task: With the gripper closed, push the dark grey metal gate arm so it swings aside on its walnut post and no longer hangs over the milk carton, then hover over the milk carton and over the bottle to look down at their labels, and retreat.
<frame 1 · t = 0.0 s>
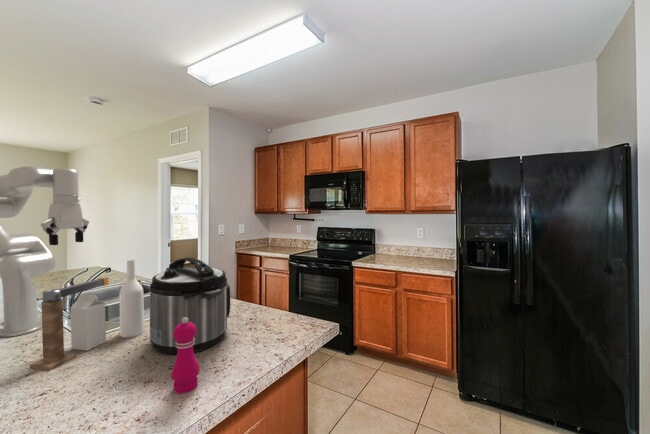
hand: (67, 243, 116), 37 cm above the worktop, tool pointing down, fingers open, 9 cm apart
pepper mill: (185, 387, 83), on the worktop
bottle: (132, 333, 119), on the worktop
pressure cooker: (192, 339, 114), on the worktop
gate arm: (78, 288, 104), point 22 cm above the worktop, hinge at 0.0°
milk carton: (89, 346, 108), on the worktop
gate post: (53, 362, 96), on the worktop
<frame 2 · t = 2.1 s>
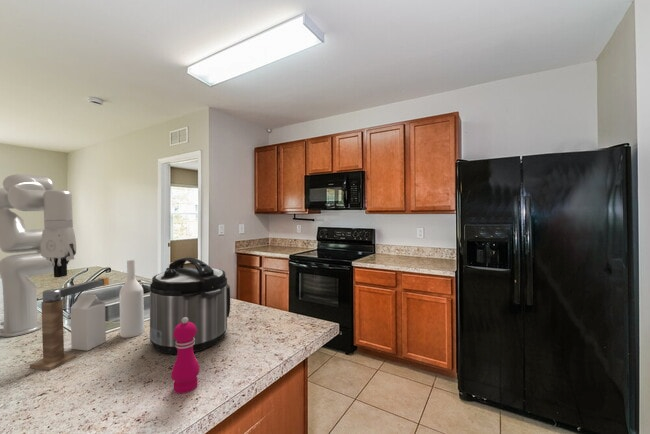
hand: (60, 276, 104), 26 cm above the worktop, tool pointing down, fingers closed
nothing on the worktop moved.
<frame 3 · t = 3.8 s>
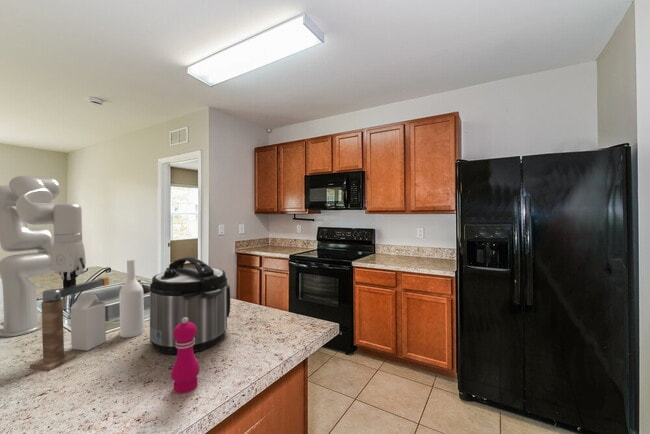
hand: (69, 290, 104), 22 cm above the worktop, tool pointing down, fingers closed
gate arm: (78, 288, 104), point 22 cm above the worktop, hinge at -0.4°, touching gripper
everything else where it was.
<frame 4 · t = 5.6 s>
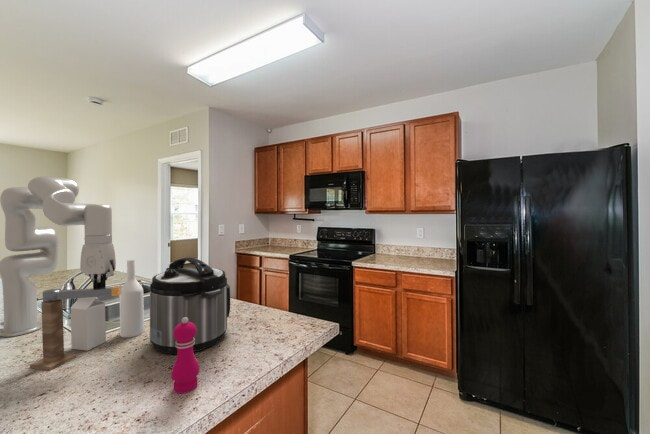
hand: (99, 292, 102), 21 cm above the worktop, tool pointing down, fingers closed
gate arm: (83, 293, 98), point 22 cm above the worktop, hinge at -63.8°, touching gripper
everything else where it was.
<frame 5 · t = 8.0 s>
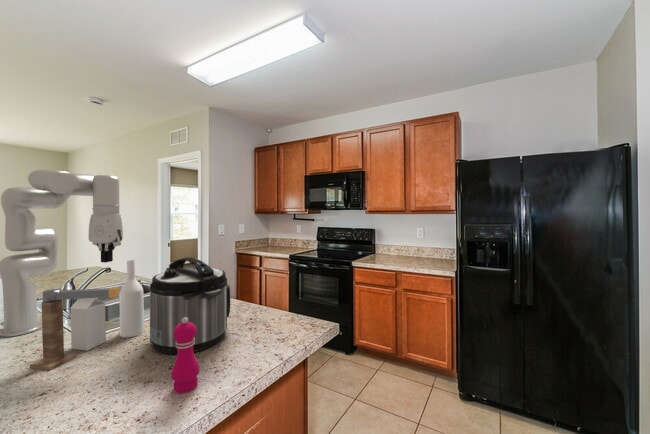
hand: (106, 261, 105), 32 cm above the worktop, tool pointing down, fingers closed
gate arm: (81, 293, 97), point 22 cm above the worktop, hinge at -68.8°
everything else where it was.
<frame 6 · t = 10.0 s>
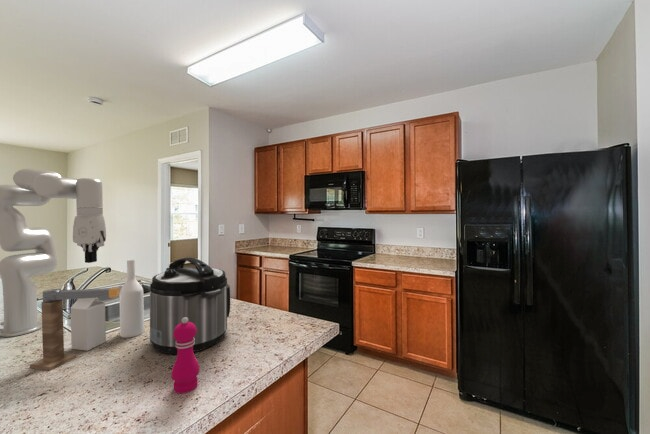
hand: (90, 262, 108), 31 cm above the worktop, tool pointing down, fingers closed
nothing on the worktop moved.
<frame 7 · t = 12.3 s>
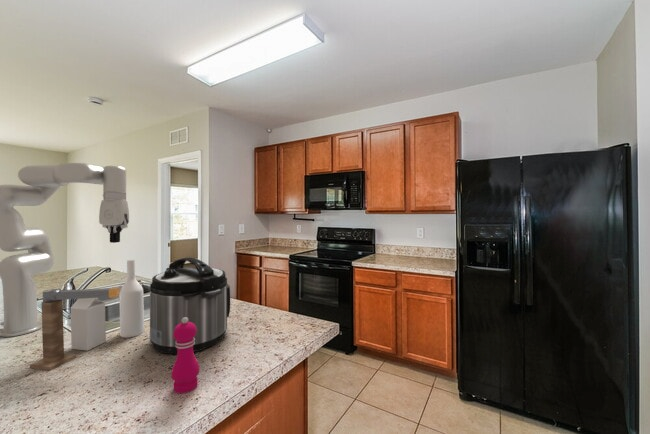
hand: (114, 242, 119), 37 cm above the worktop, tool pointing down, fingers closed
nothing on the worktop moved.
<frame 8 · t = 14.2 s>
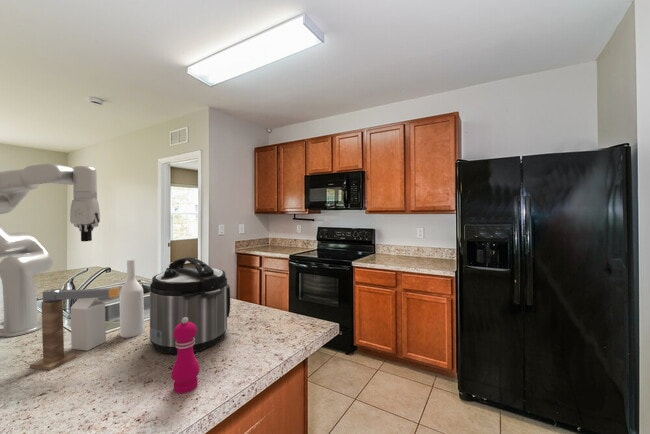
hand: (86, 241, 121), 37 cm above the worktop, tool pointing down, fingers closed
nothing on the worktop moved.
at the end: gate arm at -69° (first picture: +0°); milk carton moved 0.2 cm from its start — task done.
